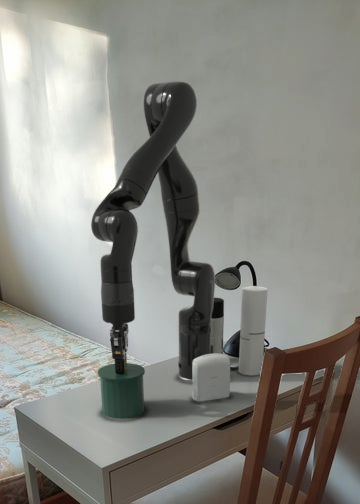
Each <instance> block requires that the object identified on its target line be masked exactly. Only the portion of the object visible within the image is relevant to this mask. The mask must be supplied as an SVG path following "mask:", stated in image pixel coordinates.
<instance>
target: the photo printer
mask: <svg viewBox="0 0 360 504" xmlns="http://www.w3.org/2000/svg"><path fill="white" fill-rule="evenodd" d="M230 367H231V359H230V356H228V355H227V354H224V353H223V354H217V353H215V354H206V355H203V356H200V357H197V358H196V359H194V360H193V363H192V382H191V383H192V400H193V401H196V402H206V401H213V400H214V401H215V400H219V399H225V398H229V397H230V394H231V393H230V389H231V370H230Z"/></svg>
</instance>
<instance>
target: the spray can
mask: <svg viewBox="0 0 360 504" xmlns="http://www.w3.org/2000/svg"><path fill="white" fill-rule="evenodd" d="M224 320H225V300H224V299H223V298H222V297H214V305H213V311H212V316H211V345H213V354H215V353H217V354H224V325H225V323H224Z"/></svg>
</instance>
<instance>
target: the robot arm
mask: <svg viewBox="0 0 360 504" xmlns="http://www.w3.org/2000/svg"><path fill="white" fill-rule="evenodd" d="M197 102H198V101H197V95H196V92H195V89H194V88H193V86H192V85H191V84H190V83H188V82H186V81H179V80H178V81H176V80H175V81H170V82H169V81H168V82H167V81H166V82H158V83H153V84H150V85H149V86H147V88H146V89H145V92H144V95H143V103H142V105H143V113H144V119H145V123H146V127H147V131H148V135H149V138H148V139H147V140H145V142H144V143H142V145H141V146H139V148H137V149H136V151H135V152H134V153H132V154H131V156H129V158H128V160H127V161H126V163H125V164H124V166H123V168H122V171H121V172H120V174H119V176H118V178H117V180H116V183H115V185H114V186H113V188H112V189H111V190H110V191H109V192H108V194H107V195H106V196H105V197H104V198H103V200H101V202H100V204H98V206H97V207H96V209H95V210H94V212H93V214H92V217H91V222H90V228H91V233H92V234H93V236H94V237H95V238H96V239H97V240H99V241H101V242H106V243H107V242H108V243H112V245H111V250H110V252H109V253H106V254H103V255H102V256H101V258H100V262H99V263H100V278H101V279H100V280H101V285H100V286H101V287H100V297H101V299H100V300H101V301H100V302H101V315H102V316H101V317H102V321H103V322H105V323H106V324H111V325H112V326H111V329H110V330H109V337H110V339H109V341H110V349H111V358H112V360H114V364H115V373H116V374H124V373H125V364H124V358H125V356H124V352H125V354H126V367H127V363H128V361H127V360H128V359H127V358H128V357H127V353H128V348H129V330H130V329H129V324H130V323H131V322H134V321H135V318H136V311H135V292H134V291H135V289H134V283H133V264H132V262H133V259H134V253H135V249H136V244H137V240H138V234H139V226H138V221H137V218H136V217H135V215H134V213H133V212H132V210H136V209H138V208H140V207H141V206H142V205H143V203H144V202H145V200H146V198H147V196H148V193H149V191H150V189H151V187H152V185H153V183H154V181H155V179H156V177H157V175H158V182H159V187H160V198H161V204H162V209H163V215H164V220H165V226H166V232H167V239H168V247H169V262H170V264H169V265H170V277H171V283H172V286H173V289H174V291H175V293H177V294H178V295H182V296H188V297H193V304H192V305H190V306H185V307H183V308H181V309H180V310H179V311H178V362H177V363H178V364H177V365H178V366H177V367H178V375H177V376H178V378H179V379H180V380H182V381H185V382H191V383H192V363H193V360H194V359H196V358H197V357H200V356H203V355H206V354H213V345H211V316H212V311H213V305H214V298H215V288H216V272H215V269H214V266H213V265H212V264H210V263H208V262H203V261H202V262H201V261H193V260H191V258H190V252H189V242H190V238H191V236H192V233H193V232H194V230H195V228H196V225H197V222H198V220H199V218H200V212H201V206H200V205H201V203H200V197H199V189H198V184H197V181H196V178H195V177H194V174H193V173H192V172H191V170H190V168H189V167H188V165H187V164H186V162H185V160H184V159H183V157H182V156H181V154H180V152H179V149H178V147H177V144H178V142H179V141H180V140H181V138H182V137H183V135H184V134H185V133H186V131H187V130H188V128H189V127H190V126H191V124H192V122H193V120H194V118H195V115H196V113H197V106H198V105H197ZM116 352H120V354H116ZM236 370H239V365H238V366H230V371H236ZM282 464H283V465H284V460H281V461H280V462H279V473H280V470H281V467H282V468H283V466H282ZM279 473H278V474H279Z"/></svg>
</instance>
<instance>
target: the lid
mask: <svg viewBox="0 0 360 504" xmlns="http://www.w3.org/2000/svg"><path fill="white" fill-rule="evenodd" d="M125 353H126V352H124V356H125V358H124V364H125V373H124V374H116V373H115V363H111V364H107V365H104V366H102V367H100V368H99V369H98V370H97V375H98V377H99V379H100V378H102V379H105V380H109V381H129V380H134V379H137V378H139V377H141V376H143V377H144V375H145V373H146V370H145V367H144V366H142V365H140V364H137V363H130V362H127V367H126V356H127V353H126V354H125ZM116 354H120V352H116Z"/></svg>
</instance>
